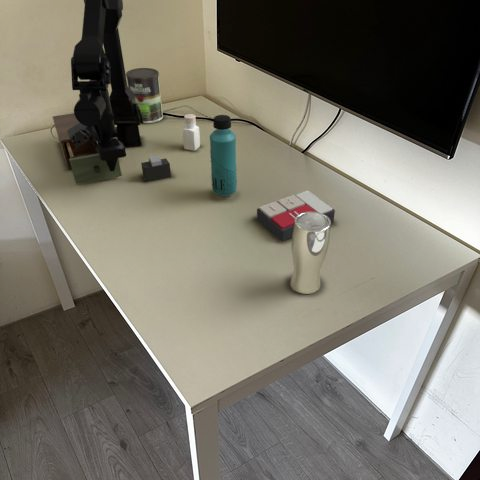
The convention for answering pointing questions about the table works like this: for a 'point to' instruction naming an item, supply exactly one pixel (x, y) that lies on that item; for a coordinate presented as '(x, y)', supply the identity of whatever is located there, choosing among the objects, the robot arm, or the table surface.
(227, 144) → the beverage bottle
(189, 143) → the salt shaker
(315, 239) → the beer glass
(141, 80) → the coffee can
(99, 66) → the robot arm
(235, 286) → the table surface
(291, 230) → the grey and red box
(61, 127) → the cabinet
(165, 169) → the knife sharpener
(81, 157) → the drawer
